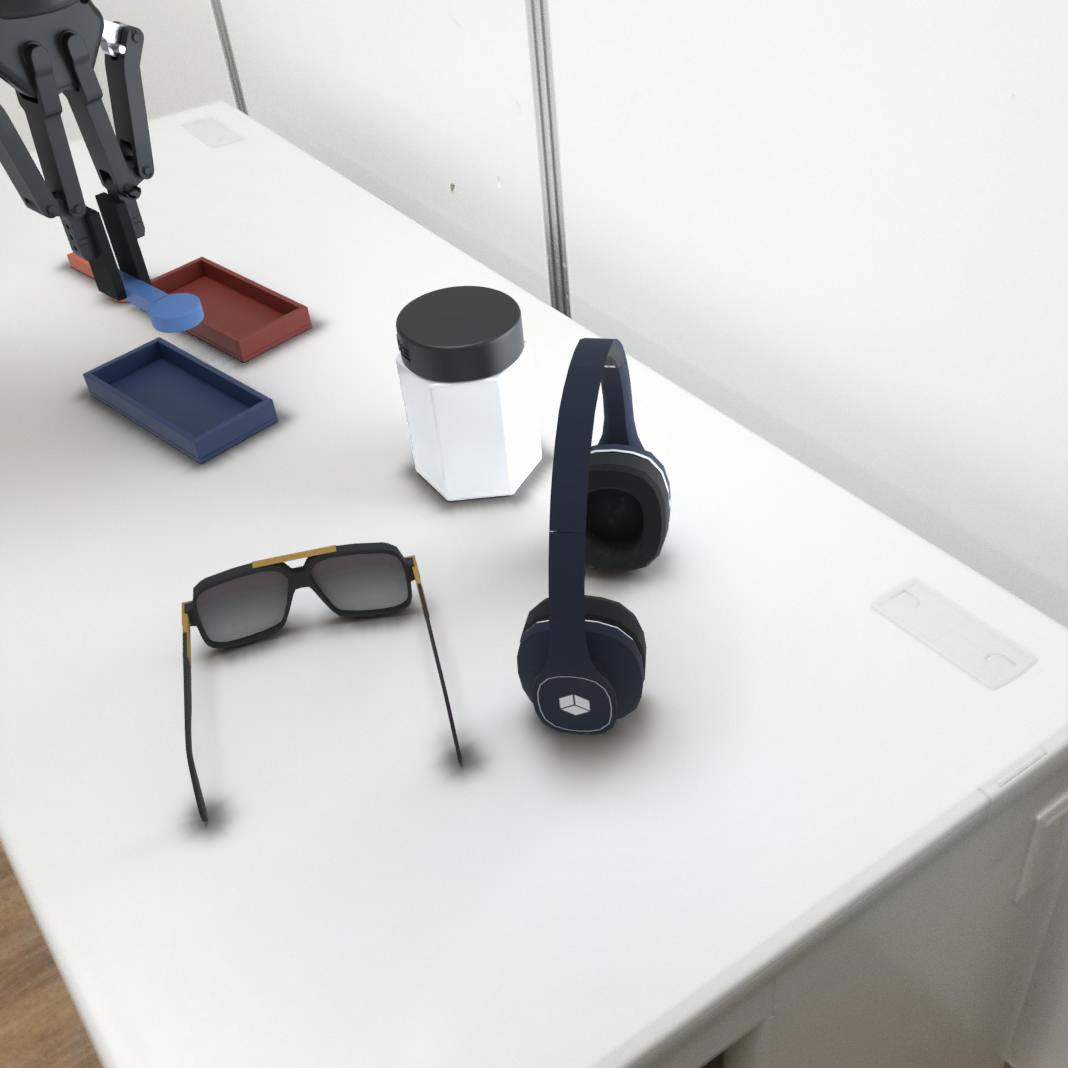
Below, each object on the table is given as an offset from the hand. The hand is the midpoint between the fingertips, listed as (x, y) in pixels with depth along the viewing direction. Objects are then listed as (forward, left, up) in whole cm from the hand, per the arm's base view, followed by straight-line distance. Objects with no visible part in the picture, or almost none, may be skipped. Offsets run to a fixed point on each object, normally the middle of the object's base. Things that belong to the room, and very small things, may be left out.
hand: (125, 287), depth 91 cm
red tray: (0, +12, -9) cm, 15 cm away
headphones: (+39, -21, -9) cm, 46 cm away
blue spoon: (+3, -2, 0) cm, 3 cm away
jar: (+27, -6, -9) cm, 30 cm away
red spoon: (-13, +17, -9) cm, 23 cm away
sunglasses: (+24, -29, -9) cm, 39 cm away
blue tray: (+3, -1, -9) cm, 10 cm away
